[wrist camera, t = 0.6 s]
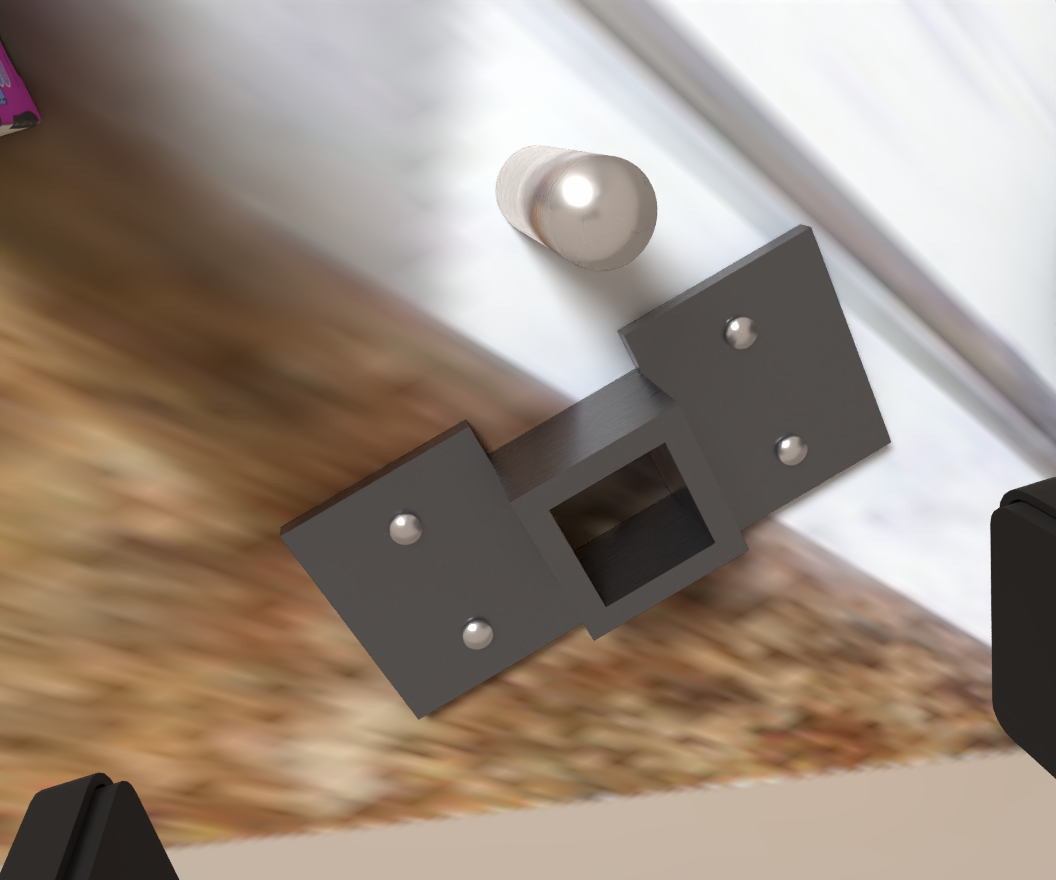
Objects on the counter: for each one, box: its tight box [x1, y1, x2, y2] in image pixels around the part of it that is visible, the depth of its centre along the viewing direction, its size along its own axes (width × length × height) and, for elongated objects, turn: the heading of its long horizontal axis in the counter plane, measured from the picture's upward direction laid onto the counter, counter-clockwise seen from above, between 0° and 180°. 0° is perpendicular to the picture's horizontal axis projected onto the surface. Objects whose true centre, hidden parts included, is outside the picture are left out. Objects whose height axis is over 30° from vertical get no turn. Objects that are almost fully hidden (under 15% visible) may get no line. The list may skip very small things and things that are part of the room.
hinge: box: [280, 224, 891, 719], centre depth 33 cm, size 23×10×4 cm, turn 118°
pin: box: [496, 145, 657, 271], centre depth 27 cm, size 3×3×8 cm
